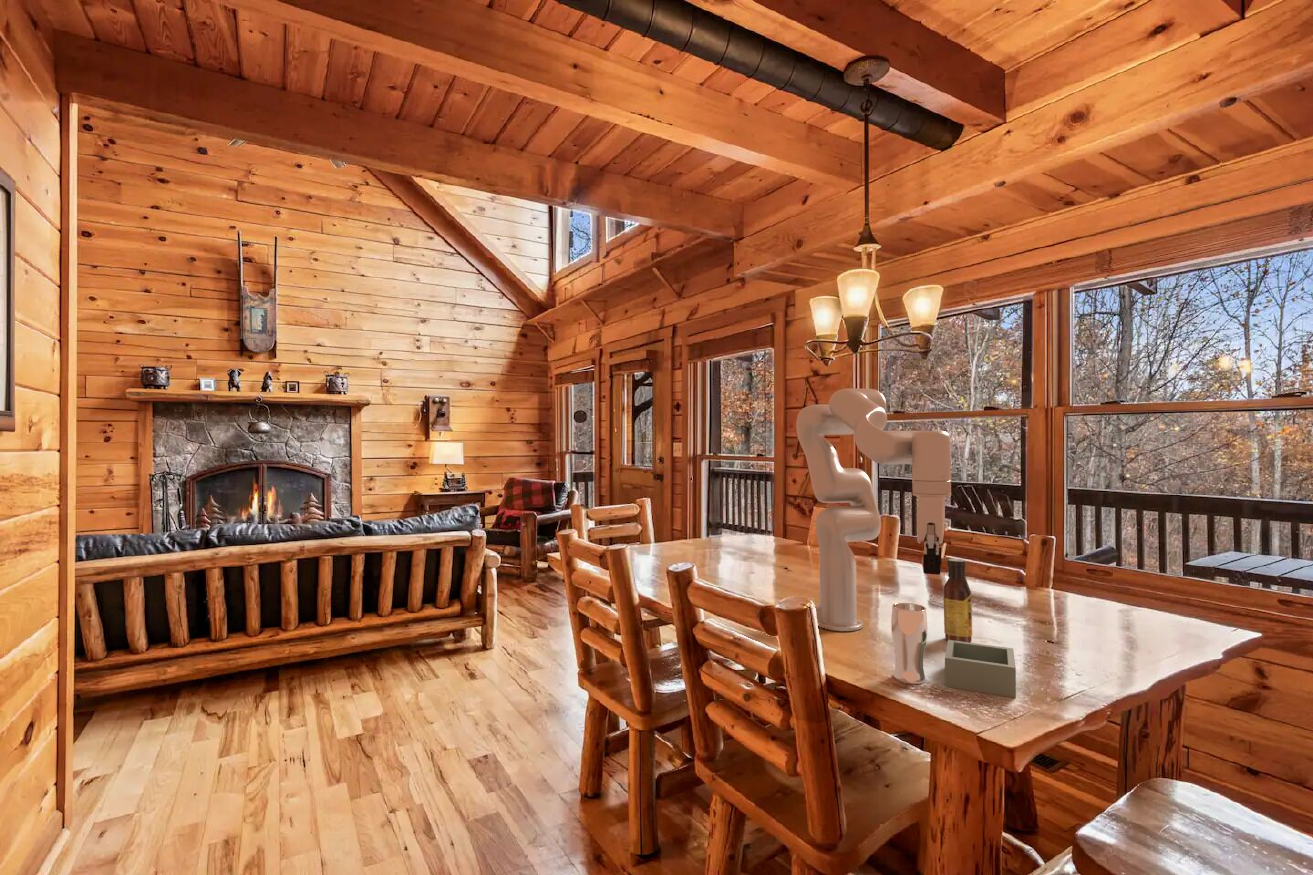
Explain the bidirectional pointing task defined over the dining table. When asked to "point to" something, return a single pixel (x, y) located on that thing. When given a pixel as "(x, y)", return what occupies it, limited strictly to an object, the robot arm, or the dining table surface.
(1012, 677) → the box
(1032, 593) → the dining table surface
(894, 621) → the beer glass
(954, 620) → the sauce bottle
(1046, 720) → the dining table surface
